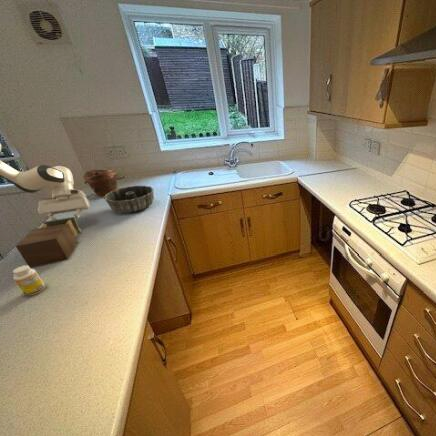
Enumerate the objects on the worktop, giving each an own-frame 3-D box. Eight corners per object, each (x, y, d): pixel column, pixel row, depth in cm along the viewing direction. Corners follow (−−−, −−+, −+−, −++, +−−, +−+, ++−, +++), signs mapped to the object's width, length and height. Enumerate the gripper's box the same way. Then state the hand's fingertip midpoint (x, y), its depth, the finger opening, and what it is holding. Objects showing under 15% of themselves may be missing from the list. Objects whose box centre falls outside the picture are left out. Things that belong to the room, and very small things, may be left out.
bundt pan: (165, 204, 156) (161, 190, 151) (122, 220, 136) (115, 204, 132) (144, 196, 169) (140, 182, 164) (102, 209, 150) (96, 194, 145)
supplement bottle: (27, 288, 89) (12, 267, 84) (47, 283, 91) (33, 261, 87) (22, 298, 85) (6, 276, 80) (43, 292, 87) (29, 270, 82)
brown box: (44, 249, 112) (32, 229, 107) (78, 242, 116) (68, 223, 111) (29, 267, 100) (15, 246, 95) (67, 259, 105) (56, 238, 100)
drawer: (56, 233, 123) (47, 217, 119) (83, 228, 127) (76, 213, 123) (41, 251, 108) (31, 234, 104) (73, 245, 113) (64, 228, 109)
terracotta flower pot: (94, 191, 178) (84, 168, 170) (125, 187, 185) (117, 164, 176) (86, 200, 163) (75, 175, 155) (120, 195, 170) (111, 171, 162)
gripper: (34, 196, 120) (35, 222, 116) (84, 189, 127) (86, 213, 124) (42, 201, 125) (43, 225, 122) (89, 194, 133) (92, 217, 129)
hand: (65, 219), depth 123 cm, fingers open, 8 cm apart
